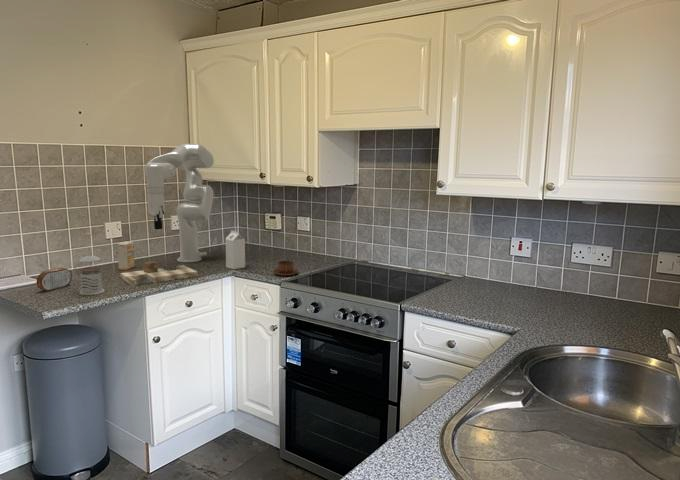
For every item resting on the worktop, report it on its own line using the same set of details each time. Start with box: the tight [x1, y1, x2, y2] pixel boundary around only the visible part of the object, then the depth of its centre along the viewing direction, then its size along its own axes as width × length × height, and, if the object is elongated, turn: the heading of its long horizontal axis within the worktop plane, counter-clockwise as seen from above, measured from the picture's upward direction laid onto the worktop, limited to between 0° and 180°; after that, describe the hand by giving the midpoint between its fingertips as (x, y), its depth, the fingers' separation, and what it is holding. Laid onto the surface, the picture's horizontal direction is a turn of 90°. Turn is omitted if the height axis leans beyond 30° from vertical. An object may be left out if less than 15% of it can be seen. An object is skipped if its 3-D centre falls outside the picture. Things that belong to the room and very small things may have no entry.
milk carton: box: [225, 230, 246, 270], centre depth 257 cm, size 7×7×19 cm
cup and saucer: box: [272, 260, 299, 277], centre depth 246 cm, size 12×12×6 cm
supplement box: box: [117, 241, 135, 271], centre depth 252 cm, size 8×5×13 cm, turn 179°
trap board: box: [119, 264, 198, 287], centre depth 235 cm, size 30×17×2 cm, turn 130°
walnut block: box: [142, 260, 159, 273], centre depth 235 cm, size 4×4×4 cm
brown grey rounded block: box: [36, 267, 73, 292], centre depth 213 cm, size 15×3×8 cm, turn 157°
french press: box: [72, 232, 106, 296], centre depth 207 cm, size 10×12×25 cm
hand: (158, 228), depth 239 cm, fingers closed
